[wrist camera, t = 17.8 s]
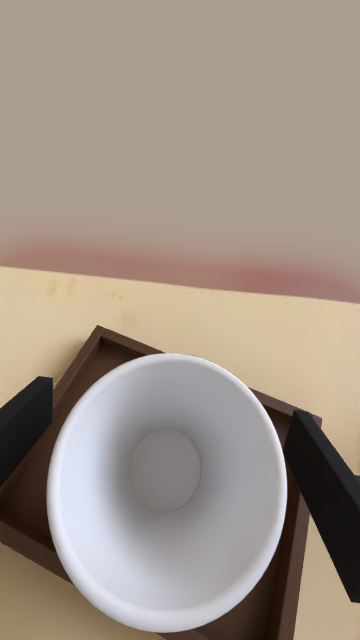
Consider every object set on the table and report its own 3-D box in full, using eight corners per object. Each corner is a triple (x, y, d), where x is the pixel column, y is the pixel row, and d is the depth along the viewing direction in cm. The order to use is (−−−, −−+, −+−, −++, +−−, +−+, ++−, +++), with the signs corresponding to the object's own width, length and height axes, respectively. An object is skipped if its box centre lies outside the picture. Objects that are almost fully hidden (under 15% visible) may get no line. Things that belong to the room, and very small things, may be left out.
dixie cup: (237, 438, 20) (310, 404, 10) (195, 569, 16) (247, 713, 6) (142, 391, 21) (127, 322, 11) (82, 502, 17) (-16, 537, 8)
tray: (-13, 516, 17) (-36, 522, 15) (102, 336, 24) (97, 324, 22) (268, 676, 14) (285, 708, 12) (307, 423, 21) (322, 418, 19)
